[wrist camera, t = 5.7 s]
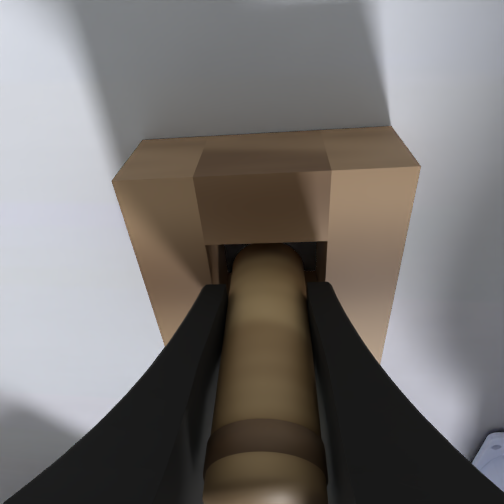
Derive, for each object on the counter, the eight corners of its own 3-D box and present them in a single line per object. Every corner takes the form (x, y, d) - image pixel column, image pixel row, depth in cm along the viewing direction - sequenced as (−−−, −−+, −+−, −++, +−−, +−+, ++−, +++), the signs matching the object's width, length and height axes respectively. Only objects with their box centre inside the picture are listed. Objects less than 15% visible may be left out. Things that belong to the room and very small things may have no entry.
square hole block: (364, 307, 17) (379, 365, 14) (185, 310, 17) (171, 366, 15) (391, 126, 12) (420, 166, 9) (142, 139, 13) (111, 180, 10)
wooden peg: (305, 295, 13) (328, 527, 8) (235, 297, 14) (209, 526, 8) (305, 238, 12) (334, 474, 6) (227, 241, 12) (188, 473, 7)
